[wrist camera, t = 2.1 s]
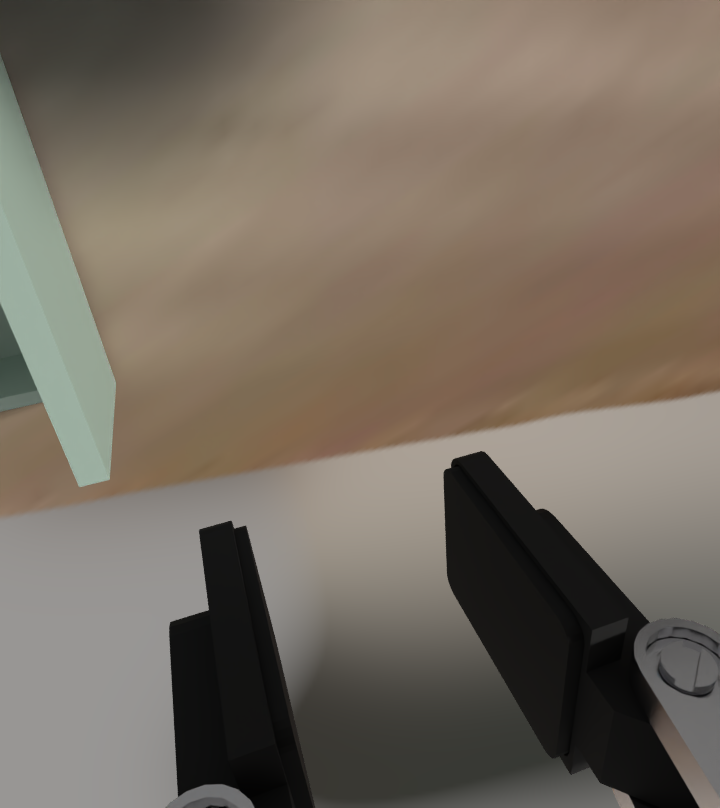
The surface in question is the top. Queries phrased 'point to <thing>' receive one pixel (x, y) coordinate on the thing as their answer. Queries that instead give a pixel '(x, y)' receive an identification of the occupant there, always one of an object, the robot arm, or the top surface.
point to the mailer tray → (47, 310)
